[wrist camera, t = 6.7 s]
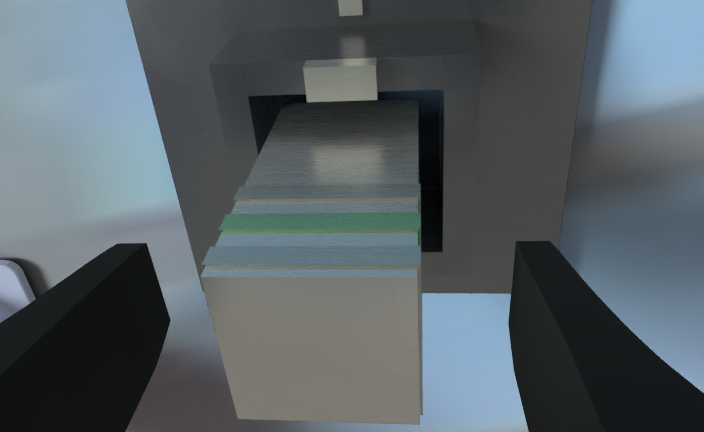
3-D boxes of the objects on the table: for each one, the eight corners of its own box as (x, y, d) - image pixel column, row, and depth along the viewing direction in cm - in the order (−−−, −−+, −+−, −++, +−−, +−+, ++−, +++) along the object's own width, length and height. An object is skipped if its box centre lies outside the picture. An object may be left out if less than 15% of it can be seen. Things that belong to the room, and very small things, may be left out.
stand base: (209, 277, 22) (172, 358, 19) (117, -86, 16) (35, -61, 12) (547, 278, 21) (572, 365, 17) (599, -120, 14) (654, -102, 11)
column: (297, 217, 17) (235, 421, 11) (281, 101, 15) (196, 274, 10) (421, 216, 17) (422, 426, 11) (420, 97, 15) (420, 275, 9)
